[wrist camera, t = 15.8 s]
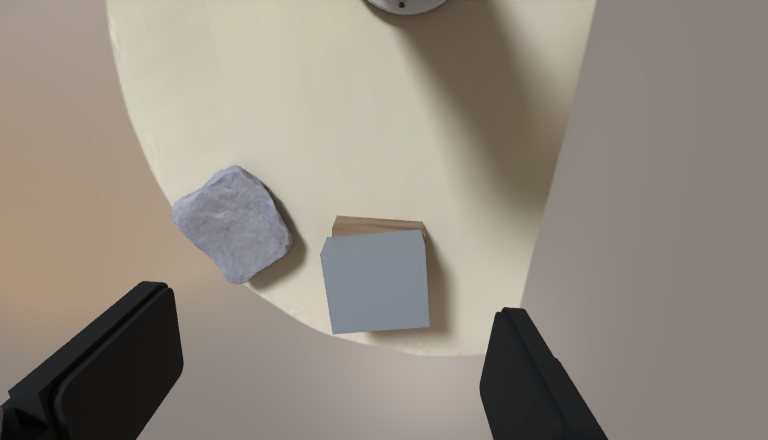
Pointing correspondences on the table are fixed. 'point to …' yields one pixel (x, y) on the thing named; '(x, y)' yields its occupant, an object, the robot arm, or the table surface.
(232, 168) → the stone block
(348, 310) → the tower top
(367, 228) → the tower base
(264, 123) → the table surface
